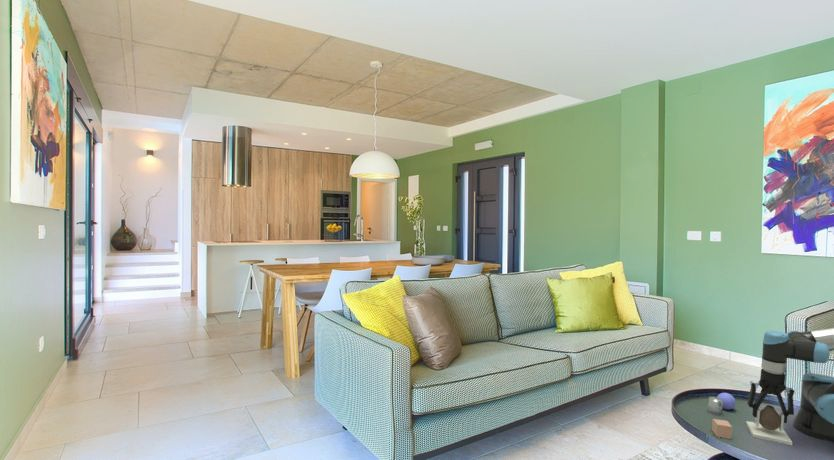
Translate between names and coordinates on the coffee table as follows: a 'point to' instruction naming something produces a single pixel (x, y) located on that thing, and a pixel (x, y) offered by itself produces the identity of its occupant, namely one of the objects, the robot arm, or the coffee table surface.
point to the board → (768, 434)
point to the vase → (769, 418)
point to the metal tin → (715, 405)
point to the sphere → (727, 400)
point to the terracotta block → (722, 428)
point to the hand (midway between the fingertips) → (768, 427)
